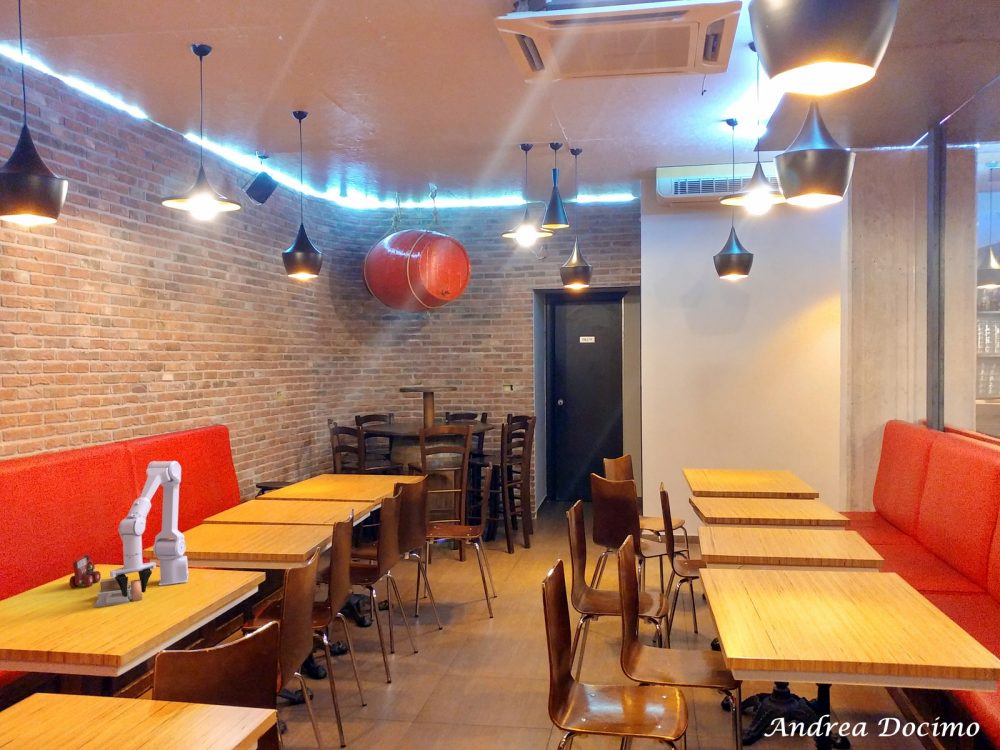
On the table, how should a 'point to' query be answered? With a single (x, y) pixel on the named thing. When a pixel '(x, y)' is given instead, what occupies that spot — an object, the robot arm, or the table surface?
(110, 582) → the tan rectangular block
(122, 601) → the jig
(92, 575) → the toy fire truck
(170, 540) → the robot arm
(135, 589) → the tail peg
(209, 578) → the table surface
